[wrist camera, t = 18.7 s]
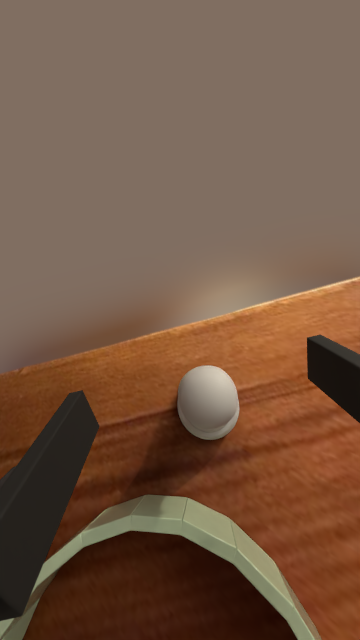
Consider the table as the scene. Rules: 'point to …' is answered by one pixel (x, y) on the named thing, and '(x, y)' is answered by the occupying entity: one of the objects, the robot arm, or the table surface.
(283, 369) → the table surface
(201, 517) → the green faceted ring
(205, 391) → the chess piece
